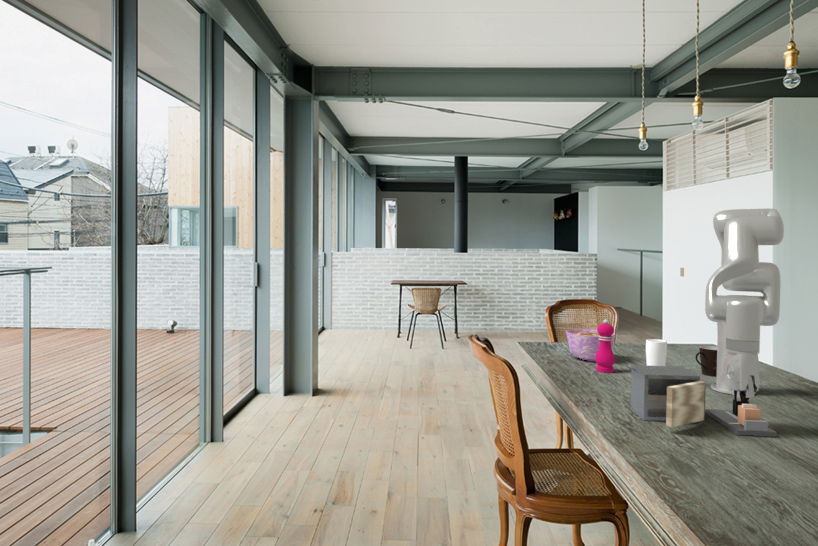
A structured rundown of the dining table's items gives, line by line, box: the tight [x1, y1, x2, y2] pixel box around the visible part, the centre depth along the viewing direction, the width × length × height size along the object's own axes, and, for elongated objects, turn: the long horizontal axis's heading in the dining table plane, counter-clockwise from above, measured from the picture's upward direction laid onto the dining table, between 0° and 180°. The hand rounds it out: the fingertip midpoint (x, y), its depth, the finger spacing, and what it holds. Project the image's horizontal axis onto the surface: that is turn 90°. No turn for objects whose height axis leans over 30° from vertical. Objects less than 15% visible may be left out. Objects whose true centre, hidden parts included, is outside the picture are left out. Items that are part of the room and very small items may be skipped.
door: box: [665, 380, 707, 429], centre depth 134 cm, size 14×2×12 cm, turn 118°
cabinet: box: [630, 364, 701, 424], centre depth 145 cm, size 14×12×12 cm
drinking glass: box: [645, 338, 668, 366], centre depth 181 cm, size 7×7×15 cm
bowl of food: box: [565, 328, 616, 362], centre depth 221 cm, size 20×20×12 cm
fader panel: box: [705, 408, 778, 438], centre depth 137 cm, size 9×18×4 cm, turn 173°
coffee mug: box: [695, 345, 717, 377], centre depth 194 cm, size 12×9×10 cm
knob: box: [738, 403, 762, 426], centre depth 132 cm, size 4×4×5 cm
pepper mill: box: [594, 318, 616, 374], centre depth 199 cm, size 7×7×20 cm
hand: (740, 415), depth 136 cm, fingers closed
